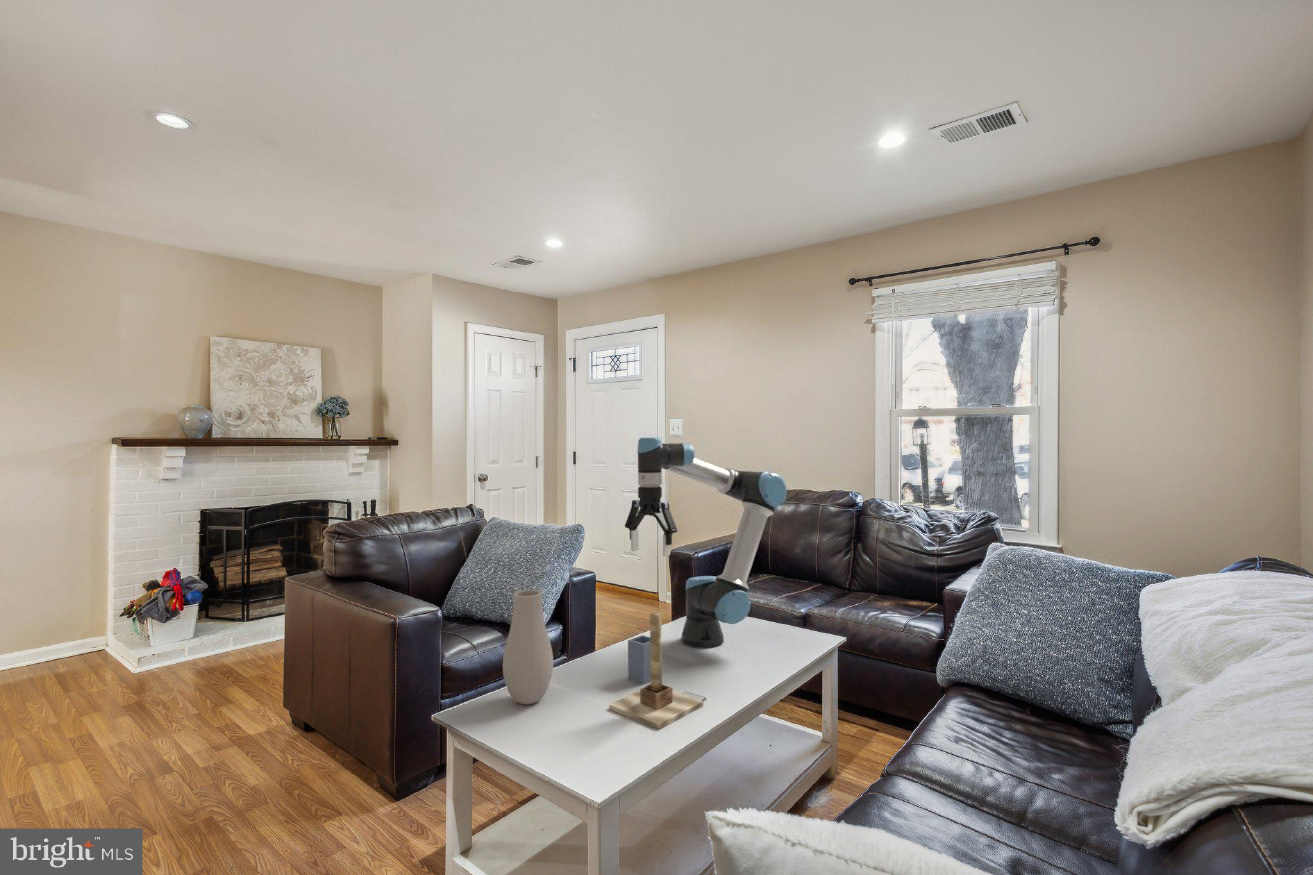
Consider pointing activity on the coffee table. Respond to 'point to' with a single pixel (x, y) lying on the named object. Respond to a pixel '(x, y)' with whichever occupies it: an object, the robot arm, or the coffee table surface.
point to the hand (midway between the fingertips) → (650, 553)
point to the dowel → (655, 652)
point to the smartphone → (695, 696)
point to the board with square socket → (656, 706)
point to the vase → (527, 650)
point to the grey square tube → (639, 659)
